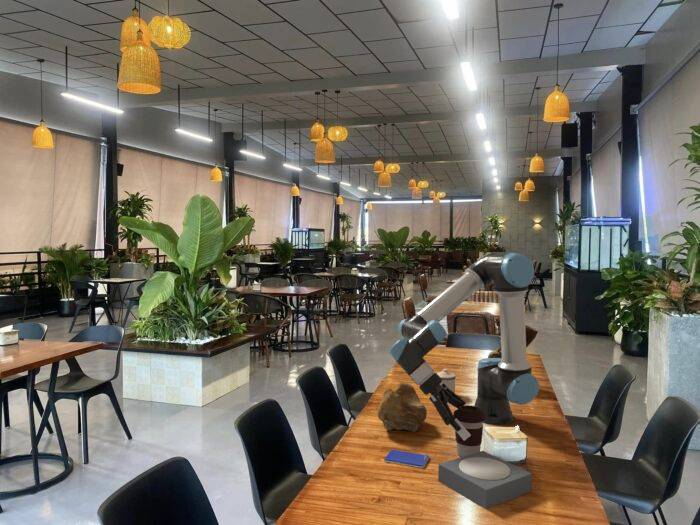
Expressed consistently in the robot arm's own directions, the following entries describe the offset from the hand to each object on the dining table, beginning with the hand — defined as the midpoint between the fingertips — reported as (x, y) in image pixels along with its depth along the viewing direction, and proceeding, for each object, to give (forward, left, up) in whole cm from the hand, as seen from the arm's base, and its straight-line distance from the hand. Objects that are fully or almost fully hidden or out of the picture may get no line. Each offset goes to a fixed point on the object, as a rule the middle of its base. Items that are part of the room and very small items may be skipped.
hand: (471, 430), depth 168 cm
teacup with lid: (-36, -53, -8) cm, 64 cm away
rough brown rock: (+3, -31, -8) cm, 32 cm away
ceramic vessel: (-70, -43, -8) cm, 83 cm away
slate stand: (+12, +17, -8) cm, 22 cm away
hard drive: (+20, -8, -9) cm, 23 cm away
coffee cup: (0, -1, -8) cm, 8 cm away
